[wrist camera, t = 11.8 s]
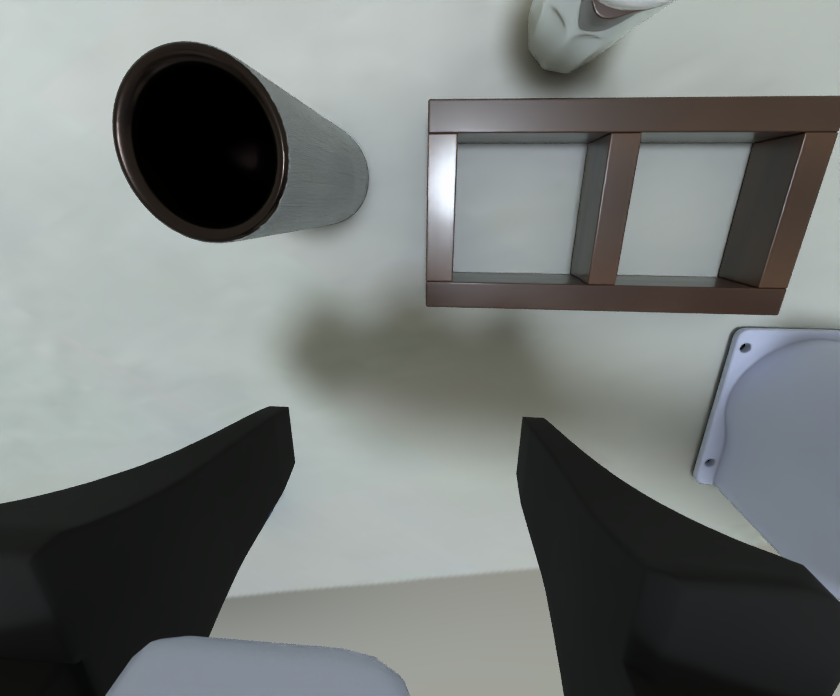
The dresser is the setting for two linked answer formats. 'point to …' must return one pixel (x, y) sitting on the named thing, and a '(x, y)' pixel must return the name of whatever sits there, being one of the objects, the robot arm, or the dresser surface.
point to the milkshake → (582, 28)
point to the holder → (611, 191)
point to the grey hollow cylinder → (229, 149)
